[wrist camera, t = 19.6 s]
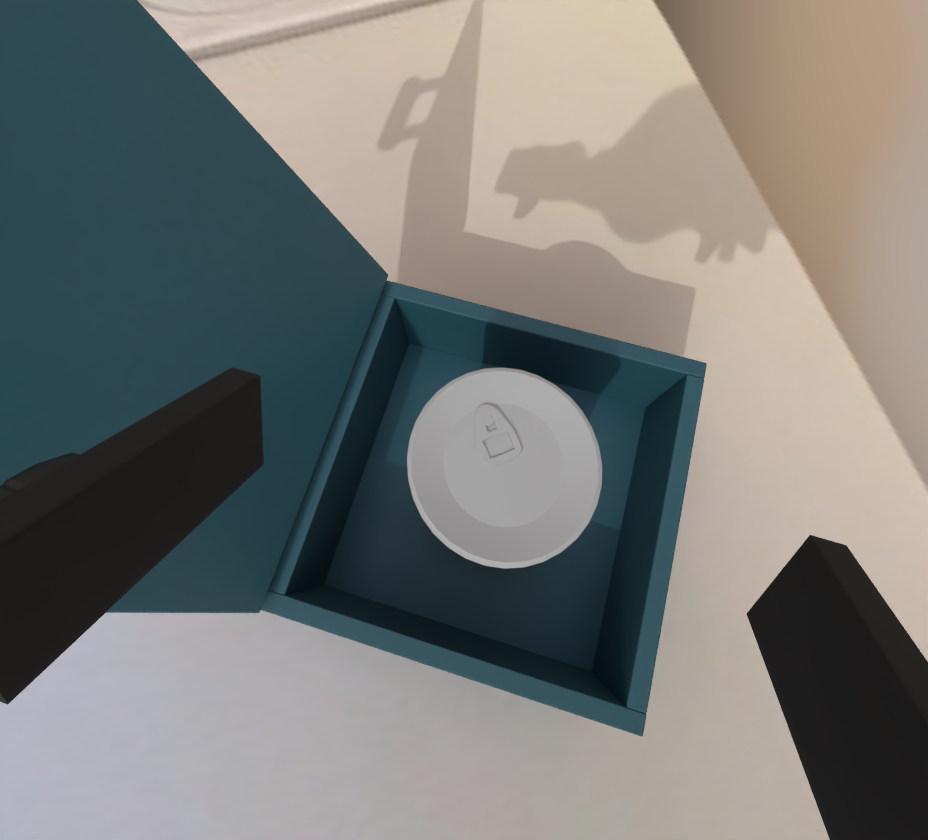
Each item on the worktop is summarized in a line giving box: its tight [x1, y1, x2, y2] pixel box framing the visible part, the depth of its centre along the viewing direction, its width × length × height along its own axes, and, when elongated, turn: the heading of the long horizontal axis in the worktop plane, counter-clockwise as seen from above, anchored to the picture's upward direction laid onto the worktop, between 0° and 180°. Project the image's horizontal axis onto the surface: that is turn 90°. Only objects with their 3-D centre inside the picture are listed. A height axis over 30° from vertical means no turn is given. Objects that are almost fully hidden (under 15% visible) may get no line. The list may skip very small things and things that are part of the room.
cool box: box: [261, 281, 706, 736], centre depth 26 cm, size 18×18×7 cm
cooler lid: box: [0, 0, 388, 613], centre depth 16 cm, size 19×18×5 cm
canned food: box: [407, 368, 602, 569], centre depth 23 cm, size 8×8×11 cm
